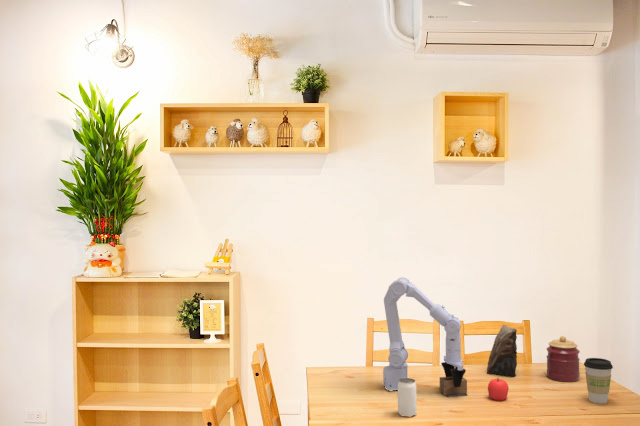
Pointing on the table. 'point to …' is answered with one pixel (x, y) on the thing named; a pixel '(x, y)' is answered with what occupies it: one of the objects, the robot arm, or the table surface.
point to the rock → (503, 353)
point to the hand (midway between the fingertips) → (453, 383)
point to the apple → (498, 389)
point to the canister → (563, 360)
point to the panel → (456, 394)
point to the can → (407, 397)
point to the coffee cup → (598, 379)
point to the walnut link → (452, 386)
